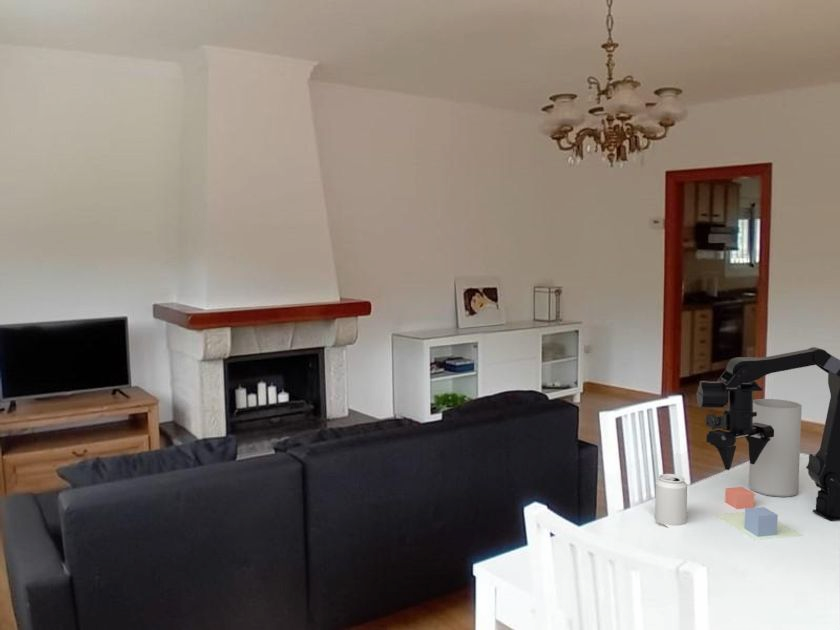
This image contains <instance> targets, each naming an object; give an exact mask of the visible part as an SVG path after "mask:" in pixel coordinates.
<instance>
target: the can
mask: <svg viewBox="0 0 840 630" xmlns="http://www.w3.org/2000/svg"><path fill="white" fill-rule="evenodd" d="M685 480H686V479H685V477H684V476H682V475H680V474H674V473H664V474H663V473H662V474H660V475H658V477H657V480H655V490H654V491H655V500H654V520H655V522H657V523H658V525H659V526H662V527H664V528H667V529H669V526H674V527H677V526H678V527H679V526H683V525H685V524H687V514H688V512H687V509H688V484H687V482H686V481H685Z"/></svg>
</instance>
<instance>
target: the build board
mask: <svg viewBox="0 0 840 630" xmlns="http://www.w3.org/2000/svg"><path fill="white" fill-rule="evenodd" d="M714 516H715V517H716V518H718V519H719V520H721V521H723V522H725V523H726V524H728V525H729V526H731V527H733V528H734V529H735V530H737V531H739V532H740V533H742V534H744V535H745V536H747V538H749V539H752V540H753V541H761V540H772V539H784V538H785V539H786V538H795V537H804V536H805V535H804V534H802V533H800V532H798V531H796V529H795V530H794V529H793V528H791V527H789V526H787V525H786V524H784V523H782V522H781V521H779V520H777V535H773V536H762V537H757V536H756V535H754V534H752V533H751V532H749V531H748V530H746V529H744V527H745V511H744V512H742V511H741V512H731V513H718V514H714Z"/></svg>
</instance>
